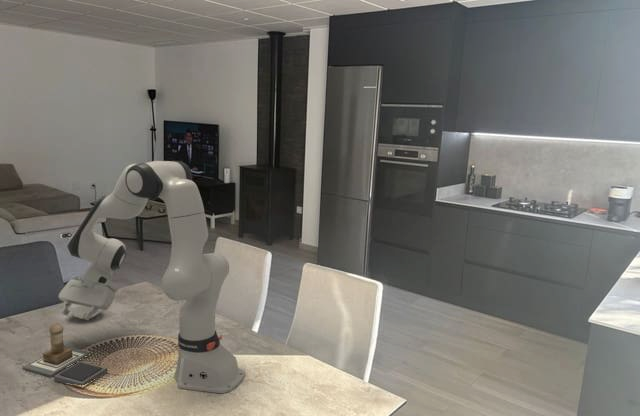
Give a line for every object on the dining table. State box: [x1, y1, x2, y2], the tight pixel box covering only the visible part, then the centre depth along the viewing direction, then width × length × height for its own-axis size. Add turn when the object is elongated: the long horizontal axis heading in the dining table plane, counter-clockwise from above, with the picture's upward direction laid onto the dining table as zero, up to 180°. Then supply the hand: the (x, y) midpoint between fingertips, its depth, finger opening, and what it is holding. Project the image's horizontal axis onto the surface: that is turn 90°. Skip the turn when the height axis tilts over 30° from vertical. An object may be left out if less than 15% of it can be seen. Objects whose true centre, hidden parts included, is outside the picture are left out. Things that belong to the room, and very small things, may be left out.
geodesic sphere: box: [68, 304, 103, 320], centre depth 189 cm, size 14×14×14 cm
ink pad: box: [53, 360, 108, 386], centre depth 147 cm, size 11×10×2 cm
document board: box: [22, 345, 92, 378], centre depth 155 cm, size 12×16×1 cm
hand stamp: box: [42, 322, 72, 365], centre depth 154 cm, size 6×6×13 cm
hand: (74, 316), depth 160 cm, fingers open, 8 cm apart
